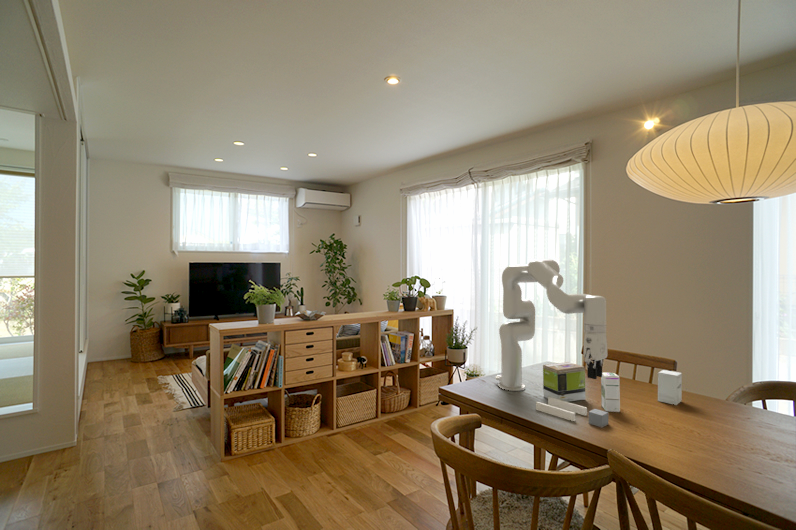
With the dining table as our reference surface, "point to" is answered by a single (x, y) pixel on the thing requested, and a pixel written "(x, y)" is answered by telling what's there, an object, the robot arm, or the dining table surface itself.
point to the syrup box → (610, 392)
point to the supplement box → (670, 387)
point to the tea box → (564, 381)
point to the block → (598, 418)
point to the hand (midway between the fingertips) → (594, 376)
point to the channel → (564, 407)
